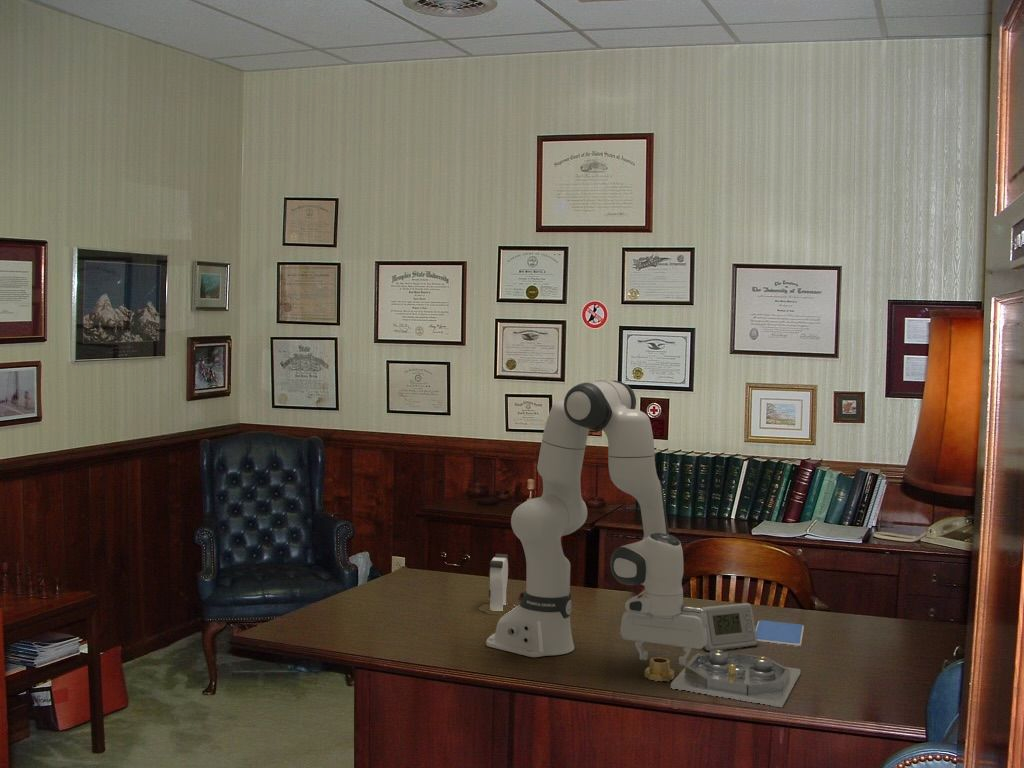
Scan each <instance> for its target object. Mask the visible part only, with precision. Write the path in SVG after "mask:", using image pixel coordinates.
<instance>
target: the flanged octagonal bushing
mask: <svg viewBox="0 0 1024 768" xmlns="http://www.w3.org/2000/svg"><path fill="white" fill-rule="evenodd" d="M644 677H645V678H646V677H647V678H648V679H647V678H646V679H647V680H649V679H650V680H649V681H651V680H654V681H653V682H657V681H661V682H660V683H663V682H662V681H667V682H671V681H670V680H672V681H673V680H674V679H675V671H674V670H673V669H671V660H669V659H668V658H665V657H659V656H657V657H651V658H650V659H649V666H647V667H646V669H644Z"/></svg>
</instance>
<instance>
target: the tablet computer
mask: <svg viewBox="0 0 1024 768" xmlns="http://www.w3.org/2000/svg"><path fill="white" fill-rule="evenodd" d="M755 630H756V636H757V641H760V642H759V643H763V642H770V643H769V644H772V643H777V644H776V645H780V644H787V645H786V646H789V645H794V646H793V647H797V646H800V647H801V646H802V643H803V638H804V637H803V636H804V630H805V625H803V624H799V623H790V622H782V621H781V622H780V621H771V620H762V619H761V620H758V621H757V623H756V625H755Z"/></svg>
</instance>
